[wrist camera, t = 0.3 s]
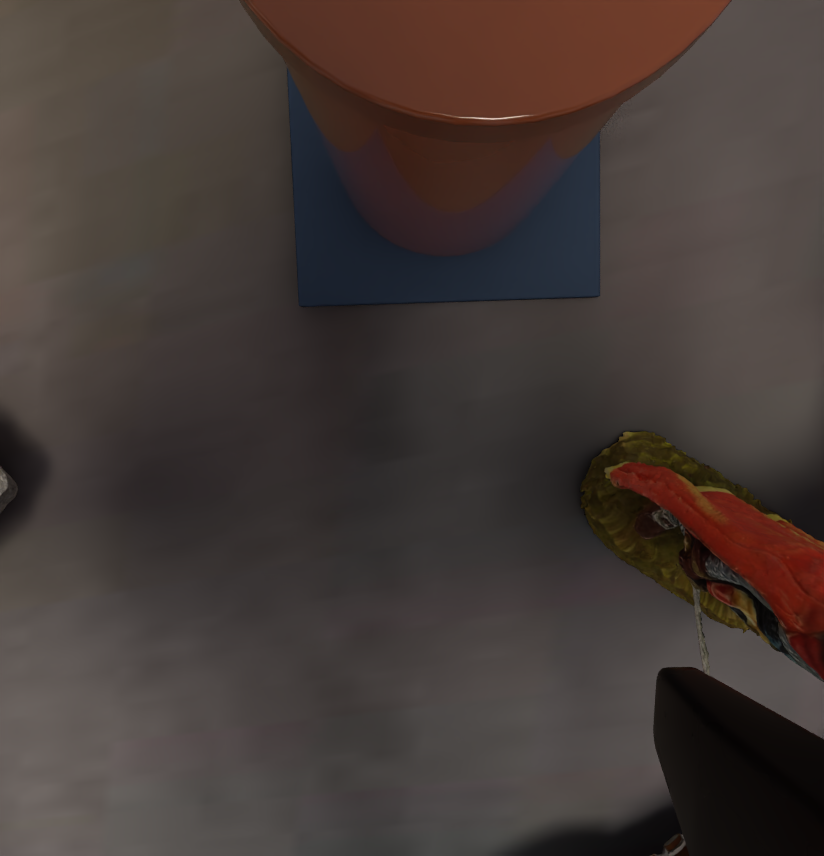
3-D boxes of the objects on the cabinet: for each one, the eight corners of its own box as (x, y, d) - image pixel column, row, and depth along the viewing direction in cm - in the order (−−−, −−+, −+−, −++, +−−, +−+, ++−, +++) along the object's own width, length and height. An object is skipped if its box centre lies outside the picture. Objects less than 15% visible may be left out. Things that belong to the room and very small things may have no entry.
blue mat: (597, 297, 21) (600, 296, 21) (301, 306, 21) (298, 306, 21) (596, -19, 20) (599, -27, 20) (285, -7, 20) (282, -14, 20)
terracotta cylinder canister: (563, 259, 21) (803, 114, 8) (333, 267, 21) (193, 135, 8) (561, 16, 20) (824, -596, 7) (323, 25, 20) (148, -564, 7)
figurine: (523, 509, 22) (650, 706, 10) (643, 382, 21) (928, 426, 9) (718, 685, 22) (1062, 1072, 10) (839, 565, 22) (1344, 826, 10)
